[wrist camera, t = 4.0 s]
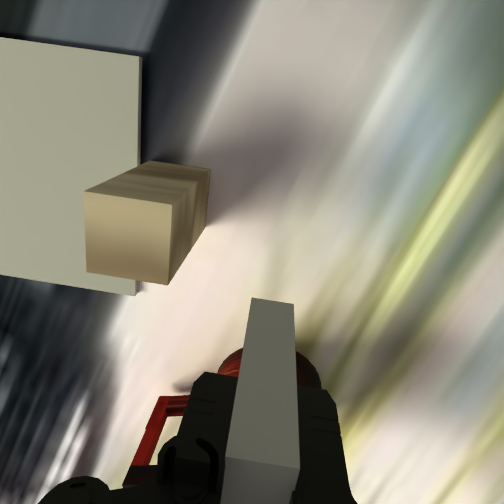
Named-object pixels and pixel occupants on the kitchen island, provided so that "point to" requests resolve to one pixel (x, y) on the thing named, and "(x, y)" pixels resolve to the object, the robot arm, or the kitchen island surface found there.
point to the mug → (176, 407)
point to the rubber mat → (61, 154)
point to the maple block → (145, 221)
